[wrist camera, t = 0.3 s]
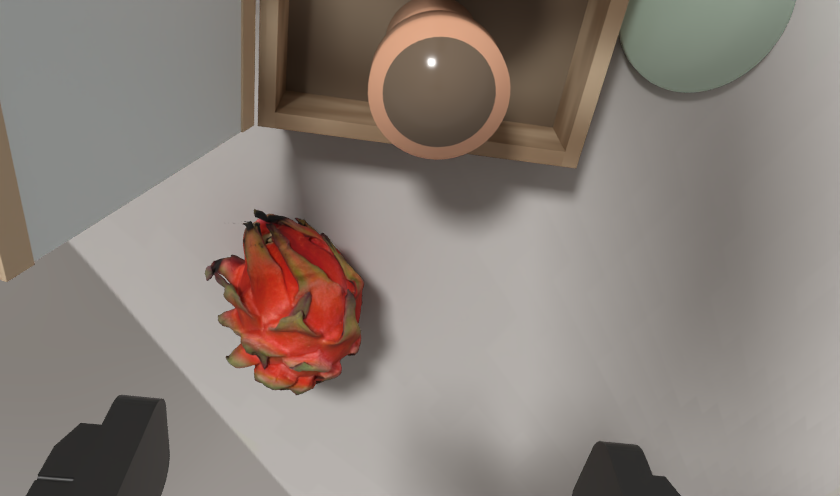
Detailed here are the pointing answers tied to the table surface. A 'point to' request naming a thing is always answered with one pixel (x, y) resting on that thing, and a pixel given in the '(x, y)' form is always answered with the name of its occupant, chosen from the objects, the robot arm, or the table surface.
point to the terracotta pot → (437, 81)
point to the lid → (110, 107)
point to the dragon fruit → (290, 304)
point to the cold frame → (489, 6)
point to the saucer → (700, 39)
